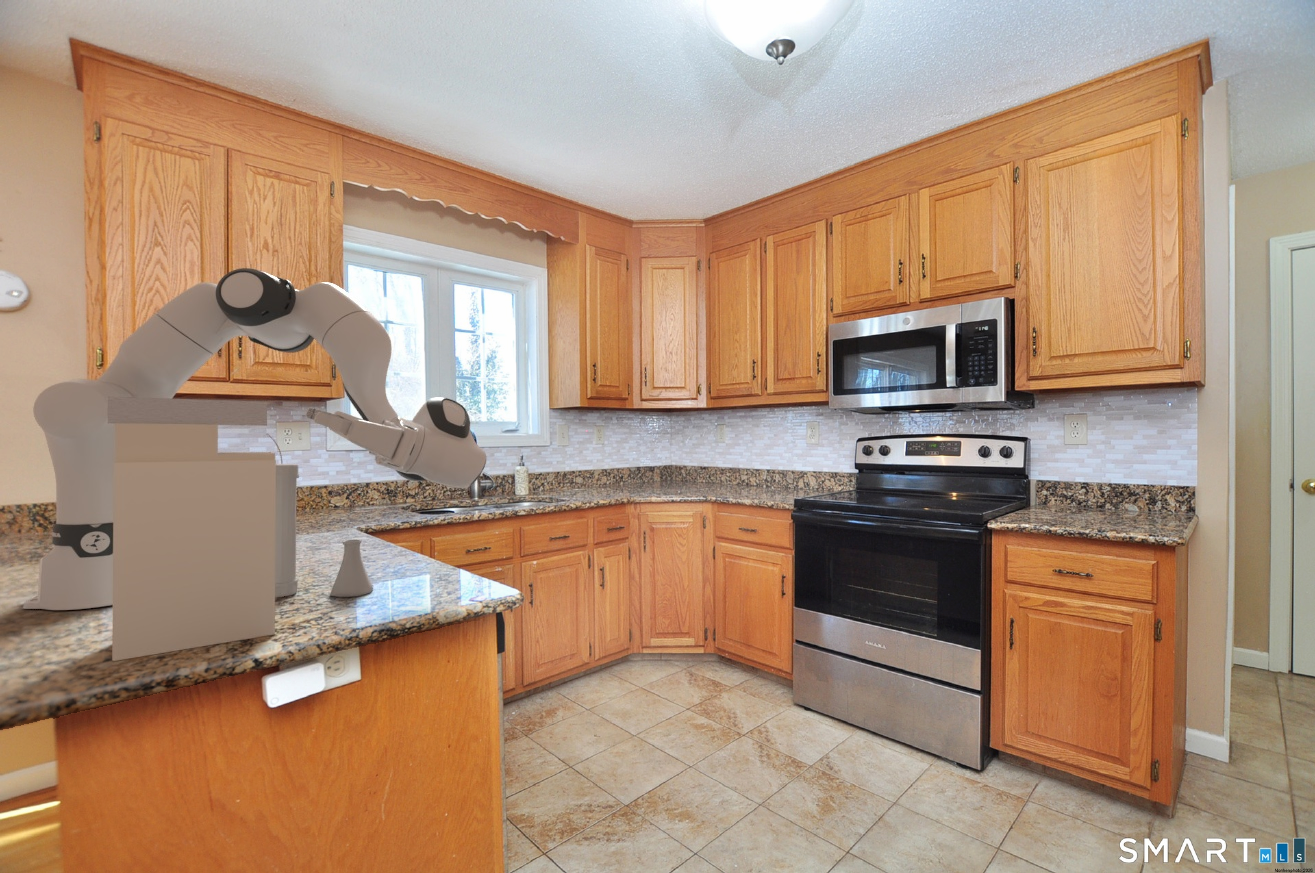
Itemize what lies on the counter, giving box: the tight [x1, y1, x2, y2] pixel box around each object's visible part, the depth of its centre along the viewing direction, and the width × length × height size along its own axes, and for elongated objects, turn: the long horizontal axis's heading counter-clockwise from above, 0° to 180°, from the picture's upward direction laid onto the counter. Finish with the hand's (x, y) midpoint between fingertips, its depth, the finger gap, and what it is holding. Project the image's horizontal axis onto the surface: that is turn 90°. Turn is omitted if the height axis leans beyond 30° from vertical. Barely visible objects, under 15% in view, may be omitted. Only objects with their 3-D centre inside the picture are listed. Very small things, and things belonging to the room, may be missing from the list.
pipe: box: [265, 433, 300, 599], centre depth 112 cm, size 6×6×30 cm
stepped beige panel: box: [111, 423, 277, 662], centre depth 88 cm, size 10×18×31 cm, turn 128°
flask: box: [329, 538, 374, 598], centre depth 113 cm, size 7×7×10 cm
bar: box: [108, 397, 268, 427], centre depth 87 cm, size 4×18×4 cm, turn 128°
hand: (311, 413), depth 96 cm, fingers open, 8 cm apart
